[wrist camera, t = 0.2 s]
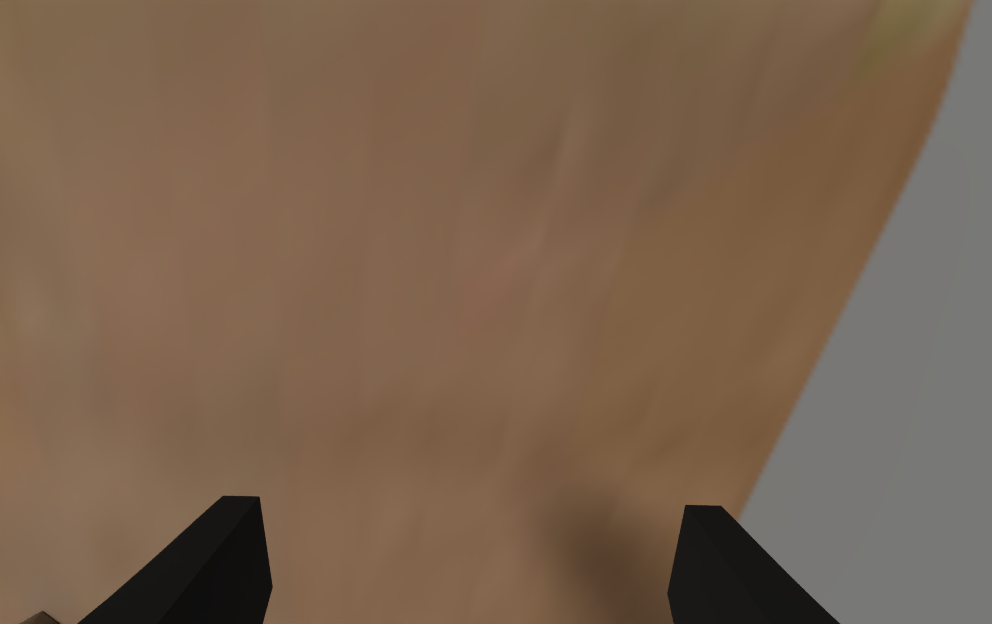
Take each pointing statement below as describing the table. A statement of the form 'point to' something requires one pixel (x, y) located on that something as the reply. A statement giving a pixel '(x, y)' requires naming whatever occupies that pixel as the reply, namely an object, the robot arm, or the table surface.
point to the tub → (39, 619)
